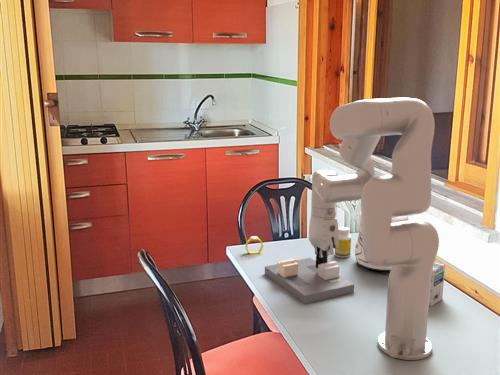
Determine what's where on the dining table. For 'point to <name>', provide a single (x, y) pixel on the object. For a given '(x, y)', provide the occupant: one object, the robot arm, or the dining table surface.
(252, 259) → the dining table surface
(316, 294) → the switch panel
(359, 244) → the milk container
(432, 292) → the light bulb box
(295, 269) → the cream tab
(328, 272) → the ridged white block
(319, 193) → the robot arm
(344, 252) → the supplement bottle
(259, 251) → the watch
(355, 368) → the dining table surface
